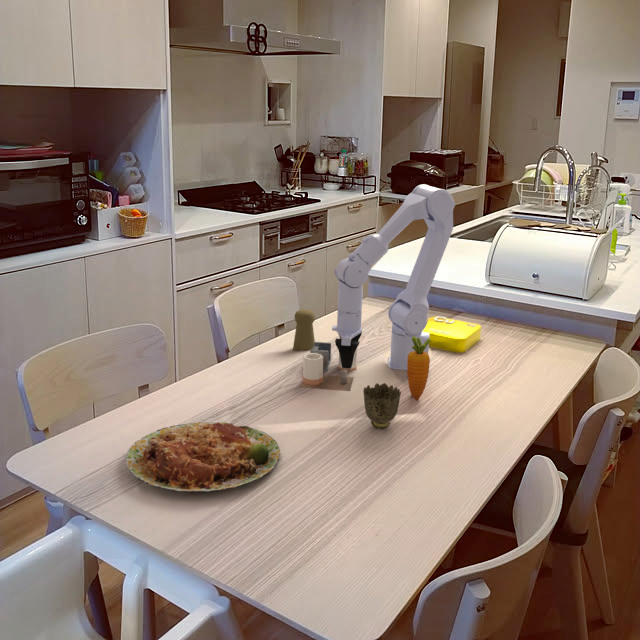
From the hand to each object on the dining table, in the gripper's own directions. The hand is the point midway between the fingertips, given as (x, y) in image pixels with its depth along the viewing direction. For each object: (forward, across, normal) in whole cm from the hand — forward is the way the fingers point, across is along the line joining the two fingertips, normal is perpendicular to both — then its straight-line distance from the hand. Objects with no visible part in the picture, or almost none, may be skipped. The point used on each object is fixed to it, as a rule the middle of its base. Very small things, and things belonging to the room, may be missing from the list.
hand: (347, 364), depth 170 cm
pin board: (+2, +10, -4) cm, 11 cm away
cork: (+2, -12, -12) cm, 17 cm away
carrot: (+2, +14, +16) cm, 22 cm away
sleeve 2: (+2, 0, 0) cm, 2 cm away
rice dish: (+3, +47, -22) cm, 52 cm away
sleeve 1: (+1, +10, -7) cm, 12 cm away
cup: (+2, +28, +10) cm, 30 cm away
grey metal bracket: (+2, 0, -3) cm, 4 cm away
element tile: (+3, -28, +24) cm, 37 cm away
